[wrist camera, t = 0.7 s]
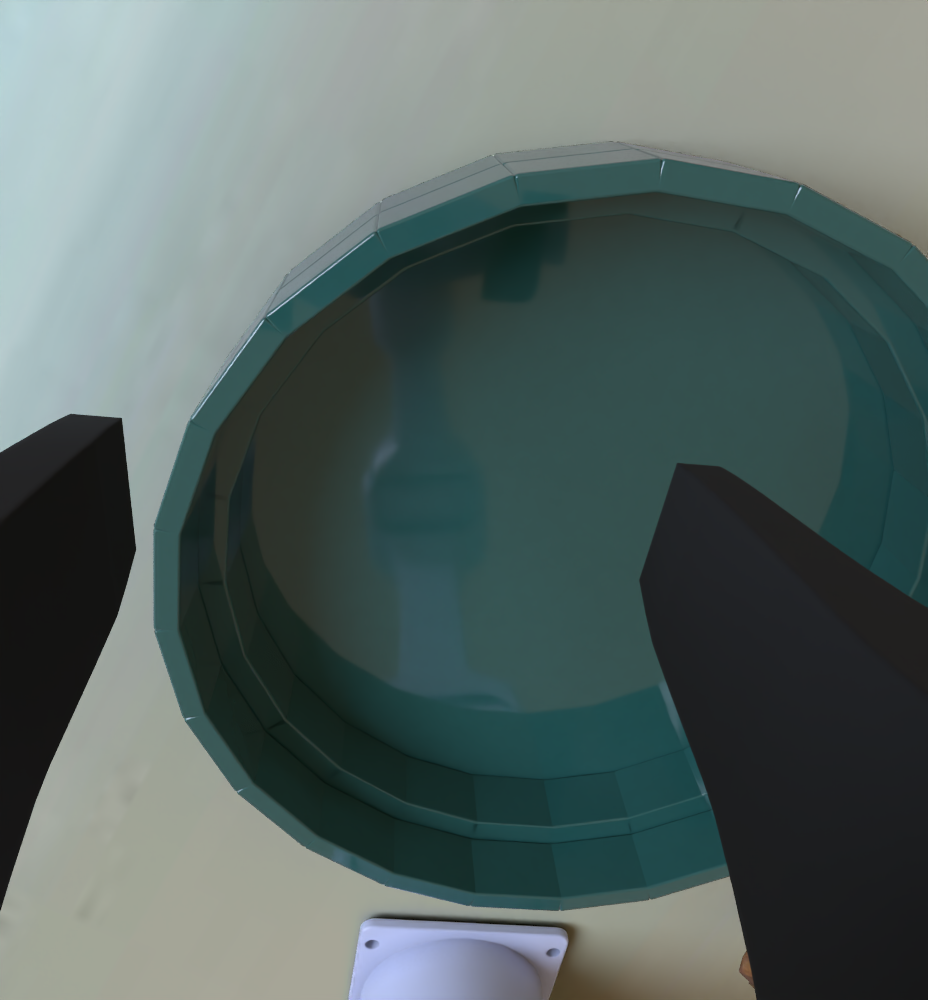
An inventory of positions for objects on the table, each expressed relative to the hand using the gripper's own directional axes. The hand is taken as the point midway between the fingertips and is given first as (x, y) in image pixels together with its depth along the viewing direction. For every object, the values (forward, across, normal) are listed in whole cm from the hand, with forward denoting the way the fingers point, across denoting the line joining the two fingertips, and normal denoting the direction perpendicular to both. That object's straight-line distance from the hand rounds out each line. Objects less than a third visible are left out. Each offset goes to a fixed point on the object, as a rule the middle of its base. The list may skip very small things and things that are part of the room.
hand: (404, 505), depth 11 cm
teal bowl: (+10, -6, +7) cm, 14 cm away
